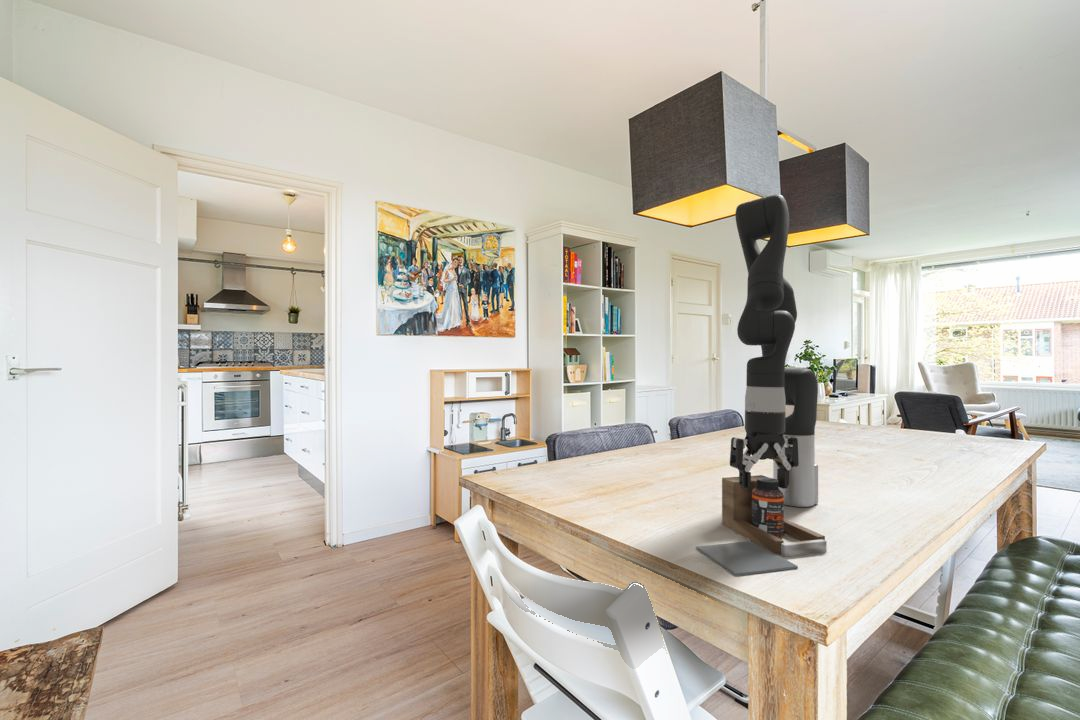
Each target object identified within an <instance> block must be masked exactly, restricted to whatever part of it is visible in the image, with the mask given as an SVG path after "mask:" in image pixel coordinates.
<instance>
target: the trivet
mask: <svg viewBox="0 0 1080 720" xmlns="http://www.w3.org/2000/svg"><path fill="white" fill-rule="evenodd" d="M695 548H696V550H698V551H699V552H700V553H701V554H703V555H704V556H707V557H708V558H709V559H710V560H712V561H713V562H715V563H717V565H719V566H721V567H722V568H724V569H725V570H726V571H728V572H729V571H730V573H731V574H732V573H733V574H732V575H734V576H735V575H736V577H738V576H739V575H740V576H745V575H746V574H748V575H754V574H762V573H770V572H779V571H787V570H788V571H789V570H797V569H799V567H798V565H796V564H795V563H793V562H791V561H789V560H787V558H785V557H782V556H781V555H779V554H775V553H773V552H771V551H769V550H767V549H766V548H764V547H762V546H760V545H758V544H756V543H755V542H753V541H751V540H746V541H739V542H738V541H737V542H728V543H727V542H726V543H720V544H719V543H717V544H709V545H699V546H696V547H695ZM746 576H747V575H746Z"/></svg>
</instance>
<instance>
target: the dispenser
mask: <svg viewBox="0 0 1080 720" xmlns="http://www.w3.org/2000/svg"><path fill="white" fill-rule="evenodd" d="M760 477H767V478H770V476H769V477H768V476H765V475H763V474H759V475H757V474H756V475H751V490H749V491H746V490H744V489H742V488H741V486H740V485H739V476H730V477H722V478H721V520H722V521H721V524H722V525H723V526H725V527H726V528H727V529H728V528H729V529H731V530H733V532H734V533H736V534H738V535H740V536H742V537H743V538H745V539H747V540H748V541H753V542H755V543H756V544H758V545H760V546H762V547H764V548H766V549H767V550H769V551H771V552H773V553H775V554H777V555H780V556H783V557H784V558H785V557H786V558H787V557H793V556H801V555H802V556H803V555H811V554H819V553H821V554H822V553H827V540H826V536H825V535H824V534H821V533H818V532H816V531H815V530H814V531H813V530H812V529H809V528H807V527H804V526H802V525H800V524H798V523H796V522H793V521H791V520H790V519H789V520H788V519H786V518H784V527H783V528H784V529H783V530H784V532H783V535H786V536H788V537H790V538H792V539H794V540H796V541H792V542H784V540H783V539H782V538H777V537H775V536H773V535H771V534H769V533H767V532H765V531H763V530H761V529H759V528H757V527H755V526H753V525H752V524H751V523H752V490H753V489H754V488H756V487H757V478H760Z"/></svg>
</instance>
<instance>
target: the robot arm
mask: <svg viewBox="0 0 1080 720" xmlns="http://www.w3.org/2000/svg"><path fill="white" fill-rule="evenodd" d="M735 222H736V223H735V224H736V228H737V232H738V236H739V242H740V244H741V249H742V253H743V256H744V260H745V264H746V268H747V269H746V270H747V290H746V291H747V293H746V294H747V295H746V302H745V305H744V307H743V310H742V313H741V315H740V318H739V320H738V324H737V337H738V339H739V340H740V342H741V343H742V344H743V345H745V346H760V347H761V355H762V356H756V357H752V358H749V359H748V360H747V363H746V382H745V383H746V389H745V396H744V430H745V433H746V435H745V437H744V438H738V437H734V436H733V437H732V438H731V439H730V453H729V466H730V467H732V468H734V469H737V470H738V477H739V485H740V486H741V488H742V489H744V490H746V491H749V490H751V476H752V473H751V472H750V471H751V469H752V468H753V467H754V465H756V464H758V461H760V460H762V461H763V460H764V461H765V460H772V462H773V463H772V468H773V469H772V472H773V474H772V478H773V479H777V480H778V481H779V487H778V488H779V489H780V491H781V492H782V493H783V495H784V506H791V507H797V508H798V507H800V508H804V507H805V508H807V507H808V508H809V507H813V506H815V505H816V504H817V505H818V504H819V465H818V464H816V463H815V462H816V461H815V459H816V457H815V456H816V452H815V451H816V450H815V449H816V448H815V447H816V445H815V438H816V437H815V429H816V425H817V419H818V418H817V412H818V396H819V394H818V393H819V385H818V383H819V382H818V379H817V376H816V374H815V372H814V371H813V370H811V369H809V368H786V360H787V355H788V352H789V349H790V344H791V342H792V339H793V337H794V333H795V329H796V321H797V318H798V310H797V303H796V299H795V298H796V297H795V292H794V289H793V287H792V285H791V284H790V282H789V281H788V280H787V279H786V278H785V277H784V264H785V256H786V251H787V245H788V238H789V229H790V211H789V207H788V203H787V201H786V198H785V197H784V196H783V195H781V194H779V193H778V194H771V195H767V196H763V197H760V198H757V199H753V200H751V201H750V200H749V201H747V202H743V203H740V204H738V205H737V207H736V209H735ZM766 238H769V239H768V241H767V242H766V245H765V246H764V247H763V249H762V250H761V249H760V248H759V245H758V242H757V241H758V240H763V239H766ZM786 406H793V411H792V413H791V414H790V415H788V416H786ZM744 449H746V450H744Z"/></svg>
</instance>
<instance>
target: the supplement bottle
mask: <svg viewBox="0 0 1080 720" xmlns="http://www.w3.org/2000/svg"><path fill="white" fill-rule="evenodd" d="M767 477H768V476H766V477H760V478H757V487H756V488H754V489H753V490H752V523H751V524H752V525H753V526H755V527H757V528H759V529H761V530H763V531H765V532H767V533H769V534H771V535H773V536H775V537H777V538H779V539H782V538H783V537H784V533H783V532H784V530H783V529H784V528H783V527H784V519H785V517H784V516H785V508H784V507H785V505H784V495H783V493H782V492H781V491H780V489H779V488H778V487H779V481H778V480H777V479H773V477H769V478H767Z"/></svg>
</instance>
